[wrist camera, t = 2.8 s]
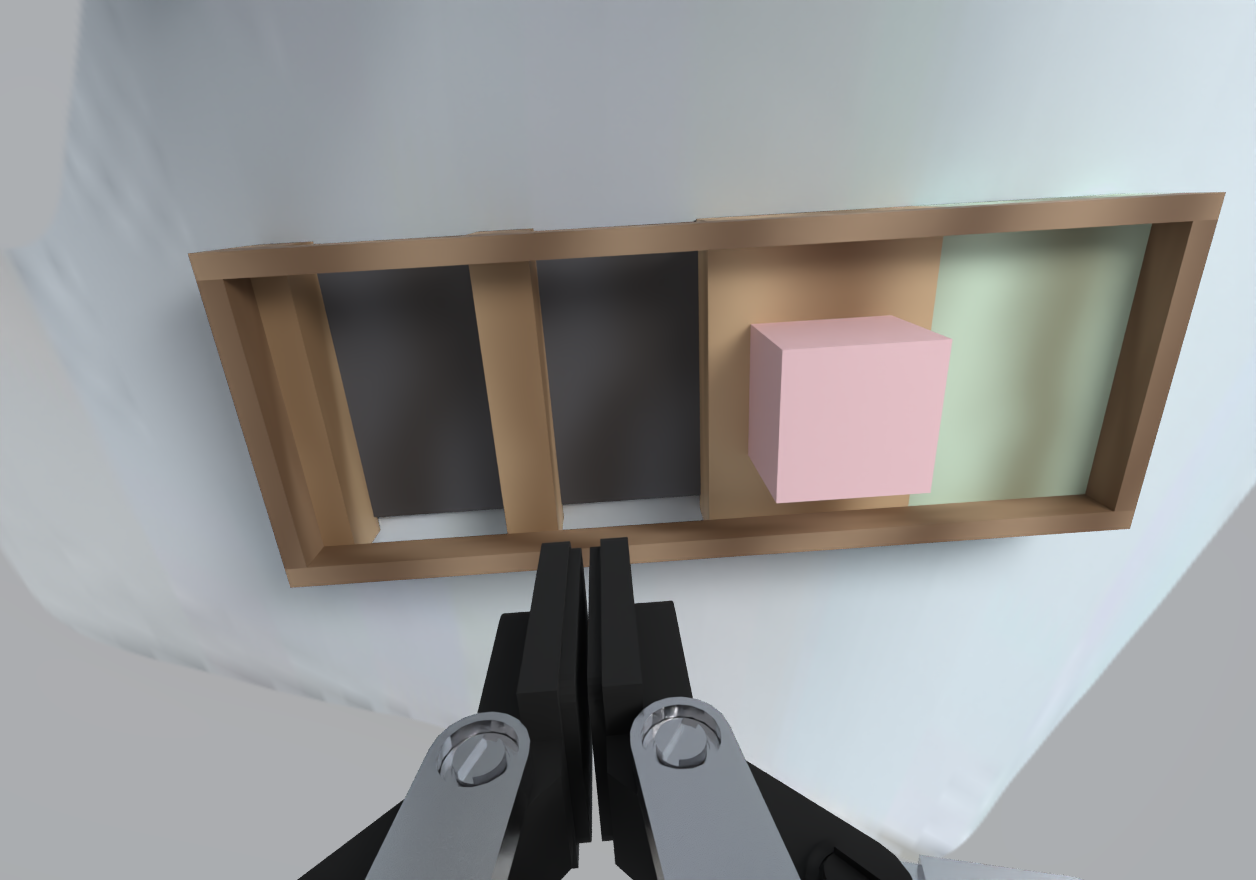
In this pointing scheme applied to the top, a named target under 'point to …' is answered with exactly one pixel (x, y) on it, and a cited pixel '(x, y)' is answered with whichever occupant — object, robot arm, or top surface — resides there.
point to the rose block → (845, 407)
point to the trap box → (694, 375)
